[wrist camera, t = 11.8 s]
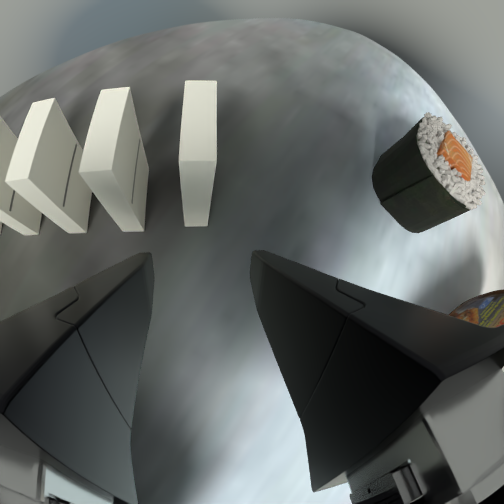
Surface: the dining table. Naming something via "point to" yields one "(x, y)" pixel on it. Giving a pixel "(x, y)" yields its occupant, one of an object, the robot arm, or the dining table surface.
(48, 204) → the domino
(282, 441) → the dining table surface
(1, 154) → the domino
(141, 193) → the domino
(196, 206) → the domino
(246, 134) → the dining table surface
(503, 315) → the tin
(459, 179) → the sushi
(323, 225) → the dining table surface
